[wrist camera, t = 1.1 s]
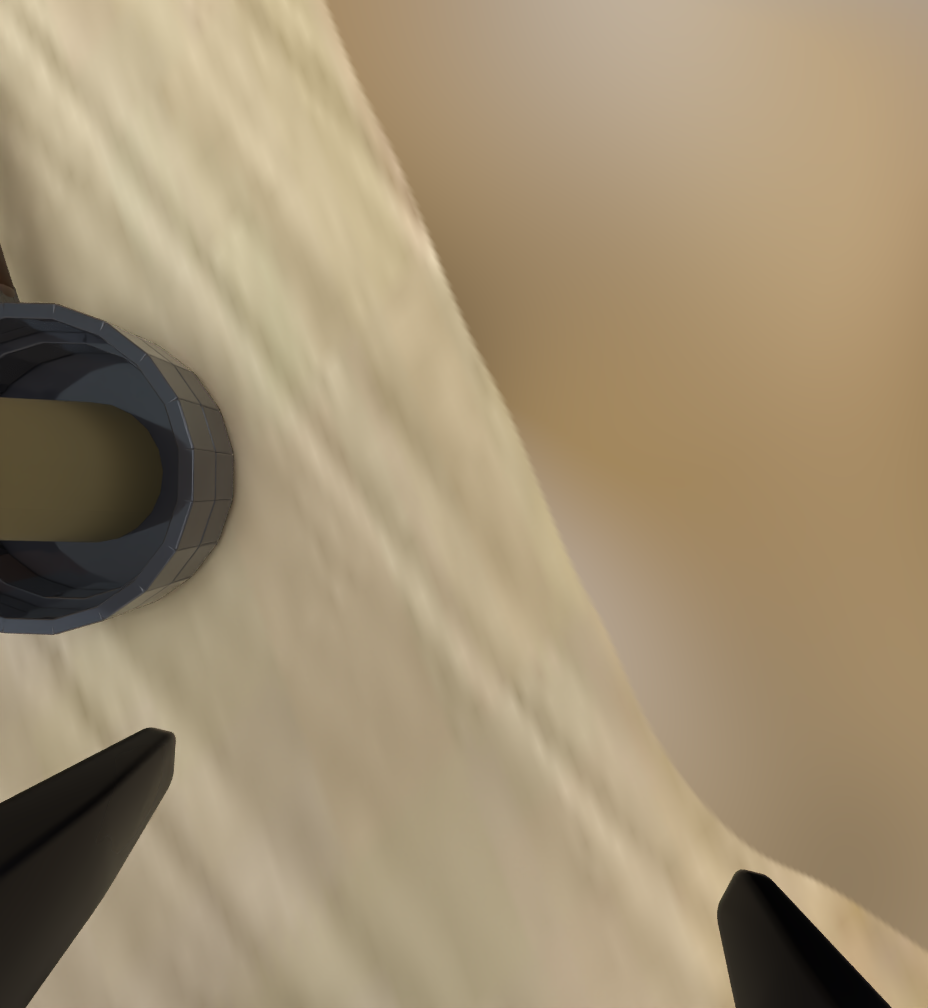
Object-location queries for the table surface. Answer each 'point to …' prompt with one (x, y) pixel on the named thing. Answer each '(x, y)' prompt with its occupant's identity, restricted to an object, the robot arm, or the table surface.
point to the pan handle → (6, 283)
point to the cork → (74, 471)
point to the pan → (183, 452)
